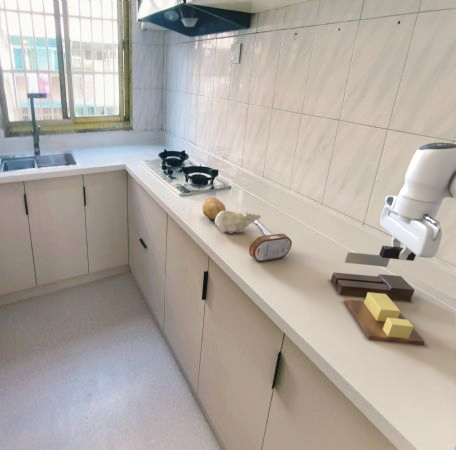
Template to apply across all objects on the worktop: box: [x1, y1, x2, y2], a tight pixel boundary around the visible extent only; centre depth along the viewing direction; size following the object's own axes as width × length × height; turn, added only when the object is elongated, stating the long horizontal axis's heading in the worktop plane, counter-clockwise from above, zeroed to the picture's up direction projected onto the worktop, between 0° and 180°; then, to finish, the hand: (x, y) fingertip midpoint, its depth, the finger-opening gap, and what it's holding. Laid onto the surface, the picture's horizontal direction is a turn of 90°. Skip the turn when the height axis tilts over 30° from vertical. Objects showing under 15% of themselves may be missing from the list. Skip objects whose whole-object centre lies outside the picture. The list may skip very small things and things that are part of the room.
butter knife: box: [247, 211, 273, 236], centre depth 137 cm, size 1×24×3 cm
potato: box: [201, 196, 227, 221], centre depth 139 cm, size 10×14×8 cm
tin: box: [248, 233, 293, 262], centre depth 109 cm, size 15×3×8 cm, turn 110°
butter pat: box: [383, 318, 414, 339], centre depth 78 cm, size 4×2×4 cm, turn 82°
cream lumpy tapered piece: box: [214, 210, 262, 235], centre depth 129 cm, size 15×7×15 cm
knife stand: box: [330, 271, 415, 302], centre depth 95 cm, size 18×7×4 cm, turn 83°
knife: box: [344, 245, 417, 268], centre depth 92 cm, size 16×2×6 cm, turn 83°
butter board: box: [344, 299, 426, 346], centre depth 83 cm, size 12×14×1 cm
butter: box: [364, 292, 401, 322], centre depth 85 cm, size 4×7×4 cm, turn 173°
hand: (397, 255), depth 91 cm, fingers closed on knife, 2 cm apart
